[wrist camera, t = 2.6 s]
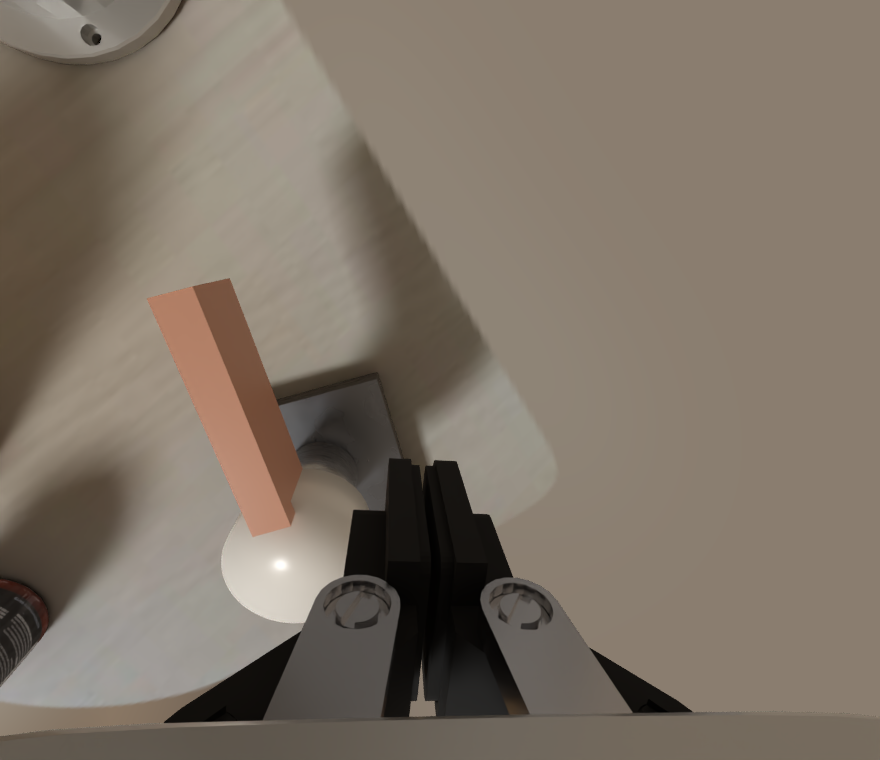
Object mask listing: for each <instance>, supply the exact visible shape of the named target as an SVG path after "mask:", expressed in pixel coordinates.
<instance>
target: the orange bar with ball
mask: <svg viewBox="0 0 880 760" xmlns="http://www.w3.org/2000/svg"><path fill="white" fill-rule="evenodd" d="M147 300H148V302H149V305H150V307H151V309H152V311H153V314H154V316H155V318H156V320H157V323H158V325H159V327H160V329H161V332H162V334H163V336H164V338H165V341H166V343H167V345H168V347H169V350H170V352H171V354H172V356H173V359H174V361H175V363H176V365H177V368H178V370H179V372H180V374H181V377H182V379H183V381H184V383H185V386H186V388H187V390H188V393H189V395H190V397H191V399H192V402H193V404H194V406H195V408H196V411H197V413H198V415H199V417H200V420H201V422H202V424H203V426H204V429H205V431H206V433H207V435H208V438H209V440H210V442H211V444H212V447H213V449H214V451H215V453H216V456H217V458H218V460H219V462H220V465H221V467H222V469H223V471H224V474H225V476H226V478H227V480H228V483H229V485H230V487H231V490H232V492H233V494H234V496H235V499H236V501H237V503H238V505H239V508H240V510H241V513H240V515H239V517H238V519H237V521H236V523H235V524H234V526H233V528H232V530H231V532H230V534H229V536H228V538H227V540H226V542H225V544H224V547H223V551H222V558H221V567H222V573H223V577H224V580H225V582H226V585H227V587H228V588H229V590H230V592H231V593H232V594H233V596H234V597H235V598H236V599H237V600H238V601H239V602H240V603H241V604H242V605H243V606H244V607H246V608H247V609H248V610H250V611H252V612H253V613H255V614H257V615H259V616H262V617H264V618H267V619H270V620H273V621H278V622H284V623H305V621H306V619H307V617H308V615H309V612H310V610H311V608H312V605H313V603H314V601H315V598H316V597H317V595H318V594H319V592H320V591H321V589H323V588H324V587H325V586H326V585H328V584H329V583H330V582H332V581H334V580H337V579H339V578H341V577H343V575H344V568H345V561H346V555H347V548H348V541H349V534H350V528H351V521H352V514H353V510H369V508H368V506H367V504H366V501H365V500H364V498H363V496H362V495H361V494H360V492H359V491H358V490H357V489H356V488H355V487H354V486H353V485H352V484H351V483H349V482H348V481H346V480H345V479H343V478H341V477H339V476H338V475H335V474H333V473H330V472H327V471H323V470H318V469H303V468H302V466H301V463H300V460H299V458H298V455H297V453H296V450H295V447H294V445H293V442H292V440H291V437H290V434H289V432H288V429H287V427H286V424H285V421H284V419H283V416H282V414H281V411H280V408H279V406H278V403H277V400H276V398H275V395H274V393H273V390H272V387H271V385H270V382H269V380H268V377H267V374H266V372H265V369H264V367H263V364H262V361H261V359H260V356H259V354H258V351H257V348H256V346H255V343H254V340H253V338H252V335H251V333H250V330H249V327H248V325H247V322H246V320H245V317H244V314H243V312H242V309H241V307H240V304H239V301H238V299H237V296H236V294H235V291H234V288H233V286H232V283H231V280H230V278H229V279H224V280H220V281H215V282H211V283H206V284H202V285H197V286H193V287H189V288H185V289H181V290H177V291H174V292H170V293H166V294H162V295H158V296H155V297H151V298H147Z"/></svg>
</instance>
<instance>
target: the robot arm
mask: <svg viewBox="0 0 880 760" xmlns="http://www.w3.org/2000/svg"><path fill="white" fill-rule="evenodd" d="M180 2H181V0H0V41H1V42H2V43H4V44H6V45H8V46H10V47H12V48H15V49H17V50H19V51H22V52H24V53H27V54H29V55H31V56H34V57H36V58H40V59H45V60H49V61H53V62H58V63H62V64H82V65H92V64H98V63H103V62H108V61H114V60H117V59H120V58H122V57H124V56H126V55H129V54H131V53H133V52H136V51H138V50H139V49H141V48H142V47H143V46H145V45H146V44H147V43H149V42H150V41H151V40H152V39H154V38H155V37H156V36H158V35H159V33H160V32H161V31H162V30H163V28H164V27H165V26H166V25H167V24H168V22H169V21H170V20H171V19H172V17H173V16H174V14H175V12H176V10H177V8H178V6H179V4H180ZM99 38H101V41H100V44H98V43H97V41H98V39H99ZM421 659H422V671H423V685H424V697H425V701H435V710H436V716H430V717H409V713H410V703H411V701H416V700H417V695H418V686H419V677H420V668H421ZM0 760H880V717H876V716H866V715H858V714H850V713H814V712H813V713H812V712H777V711H772V712H771V711H770V712H692V711H691V710H690V709H688V708H687V707H685V706H684V705H683V704H681V703H680V702H679V701H677V700H676V699H674V698H672V697H671V696H669V695H667V694H666V693H664V692H662V691H660V690H659V689H657V688H656V687H654V686H652V685H651V684H649V683H647V682H646V681H644V680H642V679H641V678H639V677H637V676H636V675H634V674H632V673H631V672H629V671H627V670H626V669H624V668H622V667H621V666H619V665H617V664H616V663H614V662H612V661H611V660H609V659H608V658H606V657H604V656H602V655H601V654H599V653H598V652H596V651H594V650H593V649H591V648H589V647H588V646H587V644H586V643H585V641H584V640H583V638H582V637H581V635H580V634H579V632H578V631H577V630H576V628H575V626H574V625H573V623H572V622H571V620H570V619H569V617H568V616H567V614H566V613H565V611H564V610H563V608H562V607H561V605H560V604H559V603H558V601H557V600H556V599H555V598H554V596H553V595H552V594H551V593H550V592H549V591H547V590H546V589H544V588H543V587H541V586H540V585H538V584H535V583H533V582H531V581H529V580H524V579H520V578H513V576H512V573H511V570H510V568H509V565H508V562H507V560H506V557H505V554H504V552H503V549H502V546H501V544H500V541H499V539H498V536H497V533H496V530H495V528H494V525H493V522H492V519H491V517H490V516H489V515H488V514H473V513H472V509H471V506H470V503H469V500H468V497H467V493H466V490H465V487H464V484H463V480H462V477H461V474H460V471H459V468H458V464H457V462H456V461H438V460H434V463H433V466H426V467H425V473H424V483H423V490H422V482H421V475H420V467H419V465H412V464H411V459H397V458H389V463H388V475H387V488H386V501H385V511H380V510H353V514H352V521H351V528H350V534H349V541H348V548H347V555H346V561H345V568H344V575H343V577H341V578H339V579H337V580H334V581H332V582H330V583H329V584H328V585H326V586H325V587H324V588H323V589H321V591H320V592H319V594H318V595H317V597H316V598H315V601H314V603H313V605H312V608H311V610H310V612H309V615H308V617H307V619H306V621H305V624H304V626H303V628H302V631H301V632H299V633H297V634H296V635H294V636H293V637H291V638H290V639H288V640H287V641H285V642H283V643H282V644H280V645H279V646H277V647H276V648H274V649H273V650H271V651H269V652H268V653H266V654H265V655H263V656H262V657H260V658H259V659H257V660H255V661H254V662H252V663H251V664H249V665H248V666H246V667H245V668H243V669H241V670H240V671H238V672H237V673H235V674H234V675H232V676H231V677H229V678H227V679H226V680H224V681H223V682H221V683H220V684H218V685H217V686H215V687H214V688H212V689H211V690H209V691H207V692H206V693H204V694H203V695H201V696H200V697H198V698H197V699H195V700H193V701H192V702H190V703H189V704H187V705H186V706H184V707H182V708H181V709H180V710H178V711H177V712H176V713H175V714H174V715H172V716H171V717H170V718H168V719H167V720H166V721H165V722H164V723H155V724H135V725H119V726H103V727H87V728H72V729H56V730H45V731H37V732H29V733H22V734H15V735H8V736H0Z"/></svg>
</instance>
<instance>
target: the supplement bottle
mask: <svg viewBox="0 0 880 760" xmlns="http://www.w3.org/2000/svg"><path fill="white" fill-rule="evenodd" d="M48 622H49V617H48V611H47V609H46V606H45V604H44V602H43V601H42V598H41V597H39V596H38V595H37V594H36V593H35V592H33V591H32V590H31V589H29V588H28V587H26V586H24V585H22V584H19V583H16V582H13V581H10V580H6V579H0V687H1V686H2V685H3V683H4V682H5V681H6V680H7V679H8V678H9V677H10V675H11V674H12V673H13V672H14V671H15V670H16V668H17V667H18V666H19V665H20V664H21V662H22V661H23V660H24V659H25V658H26V657H27V655H28V654H29V653H30V652H31V651H32V649H33V648H34V647H35V645H36V644H37V643H38V642H39V641H40V640H41V638H42V637H43V635H44V633H45V632H46V629H47V627H48Z"/></svg>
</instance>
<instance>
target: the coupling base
mask: <svg viewBox="0 0 880 760" xmlns="http://www.w3.org/2000/svg"><path fill="white" fill-rule="evenodd" d="M277 403H278V406H279V408H280V411H281V414H282V416H283V419H284V421H285V424H286V427H287V429H288V432H289V434H290V437H291V440H292V442H293V445H294V447H295V450H296V453H297V455H298V458H299V460H300V463H301V466H302V468H303V469H318V470H323V471H327V472H330V473H333V474H335V475H338V476H339V477H341V478H343V479H345V480H346V481H348V482H349V483H351V484H352V485H353V486H354V487H355V488H356V489H357V490H358V491H359V492H360V494H361V495H362V496H363V498H364V500H365V501H366V504H367V506H368V508H369V510H380V511H385V501H386V488H387V475H388V463H389V458H397V459H404V458H403V455H402V451H401V448H400V445H399V442H398V438H397V435H396V432H395V429H394V425H393V422H392V419H391V415H390V412H389V409H388V406H387V402H386V399H385V396H384V393H383V389H382V386H381V383H380V379H379V376H378V373H373V374H369V375H366V376H362V377H358V378H355V379H351V380H347V381H344V382H340V383H336V384H333V385H329V386H325V387H322V388H318V389H314V390H311V391H307V392H303V393H300V394H296V395H292V396H289V397H285V398H281V399H278V400H277Z"/></svg>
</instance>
